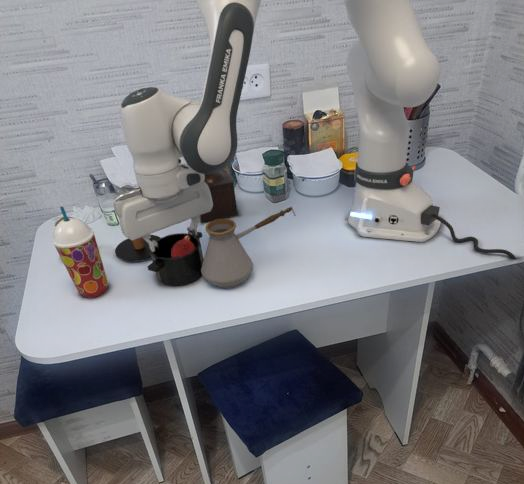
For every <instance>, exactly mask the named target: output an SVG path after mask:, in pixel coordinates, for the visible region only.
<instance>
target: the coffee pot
mask: <svg viewBox="0 0 524 484" xmlns="http://www.w3.org/2000/svg"><path fill="white" fill-rule="evenodd" d="M290 212H292V214H293V215H294V217H296V213H295V211H294V208H293V206H290V207H286V209H284V210H282V209H280V211H279V212H278V213H274V214H272V215H270V216H267V217H266V218H264V219H262V220H261V221H259V222H258V223H256V224H255V225H253V226H251V227H249V228H247V229H245V230H243V231H241V232H239V233H236V234H235V229H236V228H237V223H236V221H235V220H233V219H230V218H225V219H217V220H214V221H211V222H207V224H206V225H205V227H204V229H205V232H206V233H207V234H208V235H209V238H208V242H207V246H206V249H205V253H204V255H203V258H204V260H203V264H202V268H201V273H202V275H203V276H202V278H204V279H205V281H206V282H208V283H210V284H211V285H213V286H215V287H217V288H221V289H231V288H235V287H237V286H239V285H240V286H241V284H243V283H244V282H245V281H246V279H248V278H249V277H250V275H251V273H252V272H253V268H254V262H253V261H252V258H251V257H250V256H249V254H248V252H247V251H246V249H245V247H244V246H243V244H242V243H241V242H240V239H241V238H243V237H245V236H246V235H248V234H250V233H252V232H254V231H255V230H258V229H260V228H262V227H264V226H267V225H269V224H271V223H273V222H275V221H277V219H279V218H281V217H285V215H286V214H287V213H290Z"/></svg>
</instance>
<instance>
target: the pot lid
mask: <svg viewBox="0 0 524 484" xmlns="http://www.w3.org/2000/svg"><path fill="white" fill-rule="evenodd" d="M150 236H151V238H150V239H149V238H148V239H149V240H150V241H153V240H155V241H157V240H158V239H160V238H161V236H158V235H155V234H150ZM114 254H115V256H116V257H117V258H118V260H121V261H125V262H142V261H145V260H148V259H152V258H151V255H150V247H149V244H148V242H146V241H145V240H144V239H143V238H142V237H140V238H138V239H135V240H130V239H128V238H125V239H124V240H121V242H119V243H118V244H117V246H116V247H115V249H114Z"/></svg>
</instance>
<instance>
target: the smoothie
mask: <svg viewBox="0 0 524 484" xmlns="http://www.w3.org/2000/svg"><path fill="white" fill-rule="evenodd" d="M59 209H60V212H61V214H62V217H64V220H62V221H61V222H59V223H58V224H57V226H55V227H54V230H53V233H52V234H53V235H52V236H53V237H52V241H51V242H52V244H53V246H54V247H55V249H56V251H57V254H58V255H59V258H60V259H61V261H62V263H63V265H64V267H65V269H66V271H67V273H68V275H69V277H70V279H71V282H72V283H73V285H74V287H75V289H76V291H77V292H78V293H79V294H81V295H82V297H84V298H89V299H91V298H97V297H99V296H101V295H103V294H104V293H105V292H106V291H107V290H108V285H109V280H108V277H107V274H106V271H105V270H106V269H105V267H104V264H103V260H102V256H101V253H100V249H99V245H98V243H97V239H96V235H95V231H94V229H93V228H92V227H90V226H89V225H88V224H87V223H86V222H85V221H83V220H81V219H78V218H75V217H73V218H67V217H68V215H67V213H66V210H65V207H64V206H60V207H59Z"/></svg>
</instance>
